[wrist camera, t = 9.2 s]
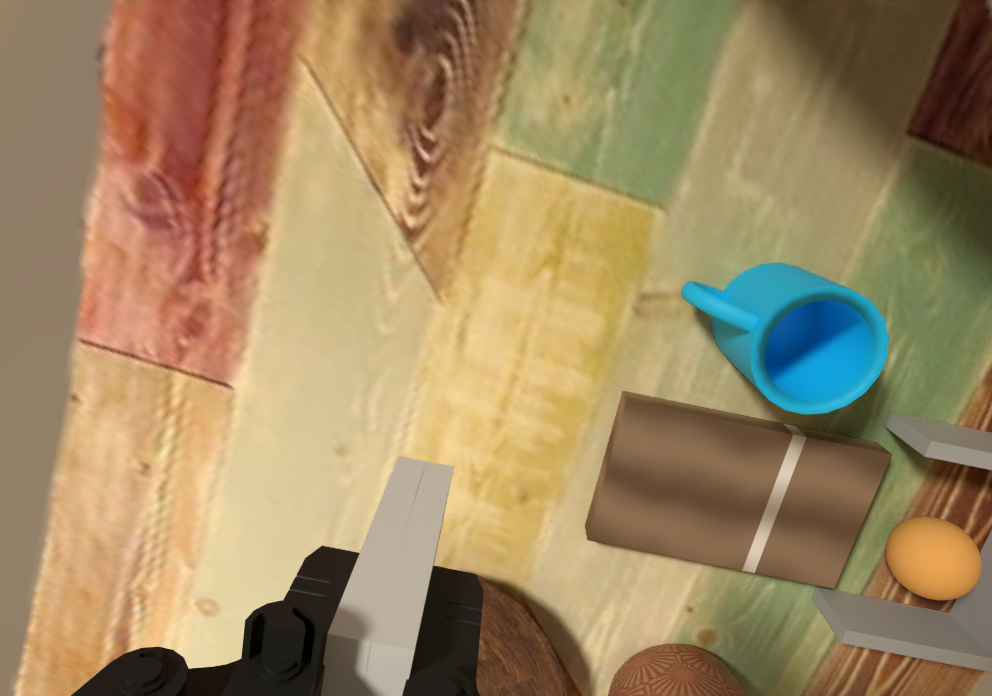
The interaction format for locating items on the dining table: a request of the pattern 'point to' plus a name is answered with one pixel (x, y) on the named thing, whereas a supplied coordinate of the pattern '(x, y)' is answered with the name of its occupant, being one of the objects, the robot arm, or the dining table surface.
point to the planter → (674, 674)
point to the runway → (733, 490)
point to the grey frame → (910, 629)
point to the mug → (796, 335)
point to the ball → (933, 558)
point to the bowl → (514, 651)
